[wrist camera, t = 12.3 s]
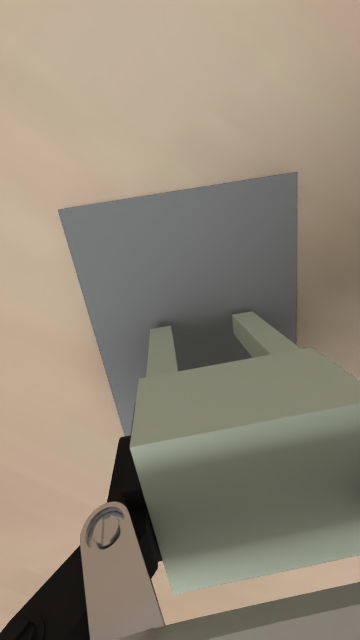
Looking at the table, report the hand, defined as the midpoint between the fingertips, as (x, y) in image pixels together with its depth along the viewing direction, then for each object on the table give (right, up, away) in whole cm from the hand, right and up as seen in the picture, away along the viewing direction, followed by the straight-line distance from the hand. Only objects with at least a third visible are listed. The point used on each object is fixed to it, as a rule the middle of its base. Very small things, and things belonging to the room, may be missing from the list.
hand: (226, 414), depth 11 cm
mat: (-1, +2, +6) cm, 6 cm away
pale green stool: (0, +1, +4) cm, 4 cm away
